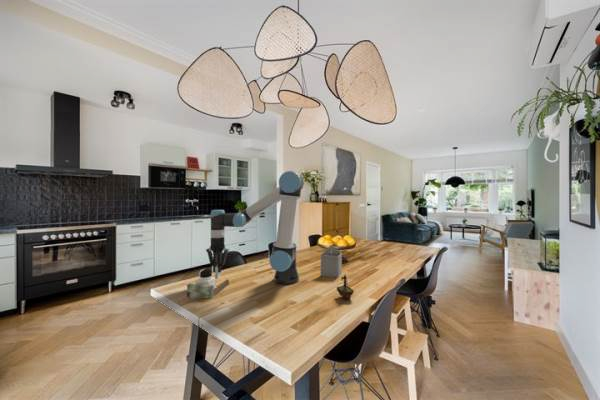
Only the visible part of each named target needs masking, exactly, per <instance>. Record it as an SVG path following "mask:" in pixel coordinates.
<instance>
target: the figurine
mask: <svg viewBox="0 0 600 400" xmlns="http://www.w3.org/2000/svg"><path fill="white" fill-rule="evenodd" d="M347 278H348V277H347V274H344V276H341V281H343V285H341V286H337V287H336V291H337V292H338V294H339V296H341V298H342V299H345V300H346V299H347V300H348V299H350V298H351V297H352V296H353V294H354V292H355V290H354V289H352V288H351V287H350V286H348V285H349V283H348V281H347Z"/></svg>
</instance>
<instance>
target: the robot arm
mask: <svg viewBox="0 0 600 400" xmlns="http://www.w3.org/2000/svg"><path fill="white" fill-rule="evenodd" d="M304 185H305V181H304V179H303V176H302V175H300V174H299V173H298V172H296V171H293V170H287V171H285V172H283V173H281V175H280V176H279V178H278V187H277V188H275V189H274V190H272V191H270V192H268V193H267V194H266V195H265V196H263V197H262V198H260V199H259V200H257V201H255V202H254V203H253V204H251V205H250V206H248V207H247V208H245V209H244V210H242V211H241V212H238V213H237V212H236V213H226V212H225V210H224V209H213V210H211V211H210V246H209V247H208V248H206V250H205V251H206V253H207V256H208V260H209V264H210V266H211V267H213V273H214V277H215V280H217V279H219V278H220V277H221V272H222V267H223V266H224V265H225V264H226V259H227V255H228V252H230V249H229V248H226V244H225V237H224V236H225V228H227V227H228V228H231V227H232V228H242V227H245V225H247V224H249V223H250V222H251V221H252V220H253V219H255V218H256V217H258V216H260V215H261V214H262V213H264V212H265V211H267V210H269V209H271V208H272V207H274V205H276V204H278V203H279V202H280V207H279V208H280V209H279V217H278V224H277V225H278V226H277V234H276V241H275V242H274V243H273V244H272V251H271V254H270V256H269V266H270V267H271V268H272V269H273V270H274V271H275V273H274V275H273V281H274V283H276V284H279V285H280V284H281V285H292V284H296V283H298V282H299V281H300V276H299V272H298V269H297V248H298V247H297V243H296V242H293V235H294V227H295V219H296V211H297V203H298V202H297V201H298V200H299V199H300V198H301V195H302V194H301V193H302V189H303V188H304Z"/></svg>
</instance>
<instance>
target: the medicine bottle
mask: <svg viewBox="0 0 600 400" xmlns="http://www.w3.org/2000/svg"><path fill="white" fill-rule="evenodd" d="M212 271H213V270H212V269H211V268H203V269H200V270H199V273H198V274H199V278H198V279H197V280H196V281H195V284H206V285H214V289H215V288H216V279H215V276H213V275H212V274H213V272H212Z"/></svg>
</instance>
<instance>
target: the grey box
mask: <svg viewBox="0 0 600 400" xmlns="http://www.w3.org/2000/svg"><path fill="white" fill-rule="evenodd" d="M342 262H343V253H342V251H340V250H339V249H338V248H337V247H335V246H334V245H332V244H331V245H329V247H327V248H326V249H325V250H324V251H323V252H322V253H321V254H320V277H325V276H326V277H328V278H335V277H337V279H338V278H339V277H340V276H341V275H342V273H343V272H342Z"/></svg>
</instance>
